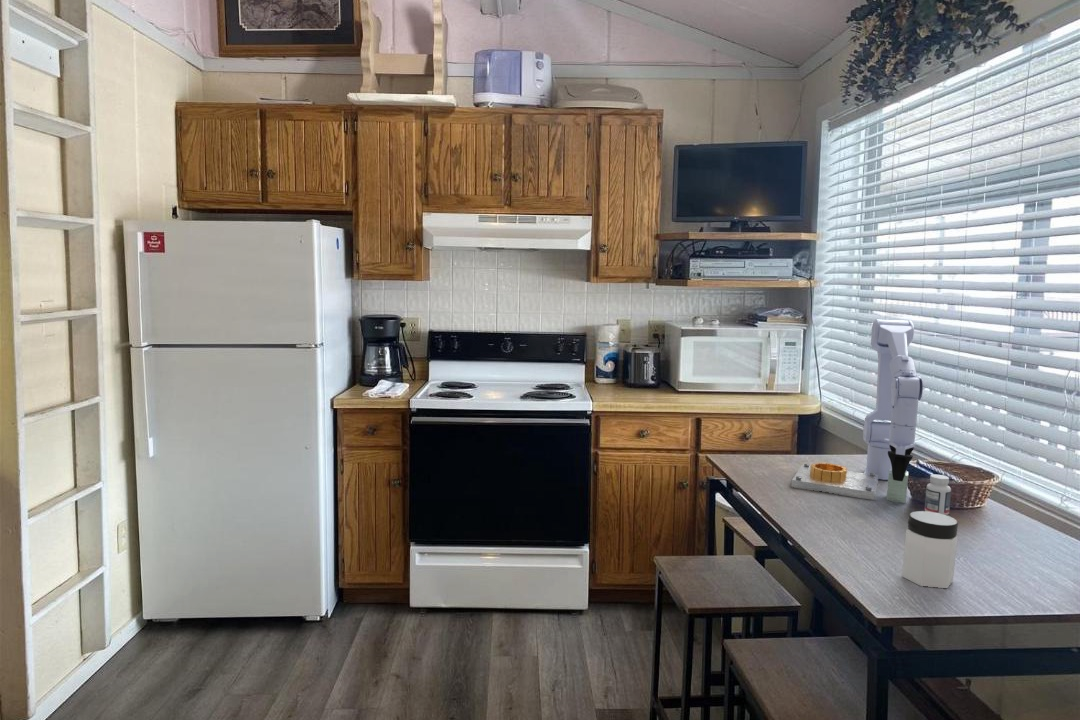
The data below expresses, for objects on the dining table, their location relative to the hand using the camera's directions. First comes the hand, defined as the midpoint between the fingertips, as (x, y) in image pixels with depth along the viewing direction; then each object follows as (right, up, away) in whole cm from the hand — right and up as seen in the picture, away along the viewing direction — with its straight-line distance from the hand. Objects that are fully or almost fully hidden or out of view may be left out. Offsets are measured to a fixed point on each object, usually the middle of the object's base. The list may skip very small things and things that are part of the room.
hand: (898, 476), depth 189 cm
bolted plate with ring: (-11, -4, +12) cm, 17 cm away
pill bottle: (+5, -7, -9) cm, 12 cm away
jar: (-18, -12, -48) cm, 53 cm away
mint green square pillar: (0, -6, +1) cm, 6 cm away
